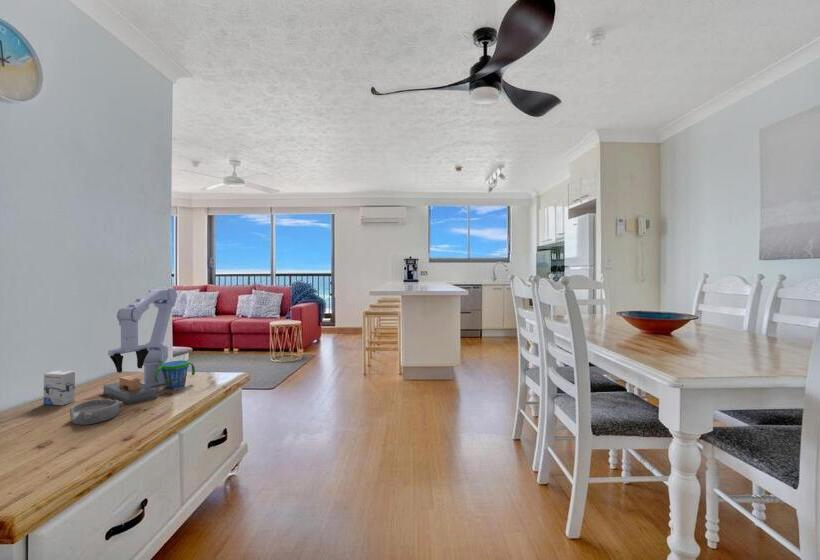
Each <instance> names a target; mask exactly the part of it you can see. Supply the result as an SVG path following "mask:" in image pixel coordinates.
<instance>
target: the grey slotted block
mask: <svg viewBox="0 0 820 560" xmlns="http://www.w3.org/2000/svg"><path fill="white" fill-rule="evenodd" d="M142 383H143V382H140V389H135V390H131V391H130V390H128V387H123V388H122V387H120V383H119V381H118V382H112V383H108V384H103V394H104V395H106V396H108V397H111V398H112V399H114V400H118V401H119V402H120V401H122V402H123V404H126V405H133V404H137V403H141V402H147V401H149V400H153V399H157V398H158V388H156V387H154V386H151V387H150V386H148V385H145V384H142Z"/></svg>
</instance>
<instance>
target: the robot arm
mask: <svg viewBox="0 0 820 560" xmlns="http://www.w3.org/2000/svg"><path fill="white" fill-rule="evenodd" d="M177 298H178V293H177V290H176V287H155V286H154V287H151V288H149V290H148V293H147V294H146V295H144V297H143V298H139V297H137V298H135V300H134V301H133V302H132V303H129V304H128V306H122V307H121V308H119V309H118V311H117V314H116V319H117V321H118V325H119V326H120V347H118V348H115V349H110V350H109V349H108V351H107V354H108V356H109V358H110V359H111V361H112V362H113V364H114V367H115V370H116V372H117V373H122V372H123V360H124V355H122V354H128V353H133V352H135V355H136V365H137V369H143V382H141V383H142V384H145V385H148V386H150V387H155V386H160V385H164V384H165V381H164V375H163V372H162V369H160V370H159V371H158V372H157V380H158V382H156V381H155V378H154V376H155V372H156V370H157V369H158V368H159V367H160V366H161V365H162V364H163V363H166V362H167V360H168V357H169V347H168V346H167V345H166V344H165V343H164V342H165V337H166V334H167V328H168V325H169V321H170V318H171V314H172V309H173V307H176V301H177ZM151 304H153V306H154V307H155V308H157V309H158V310H157V314H156V318H155V322H154V324H153V325H154V326H153V329H152V334H151V337H150V339H149V340H150V341H148V342H146V343H145V344H139V321H140V320H141V319H142V315H143V314H144V313H145V312H146V311H147V310H149V309H150V305H151Z"/></svg>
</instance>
